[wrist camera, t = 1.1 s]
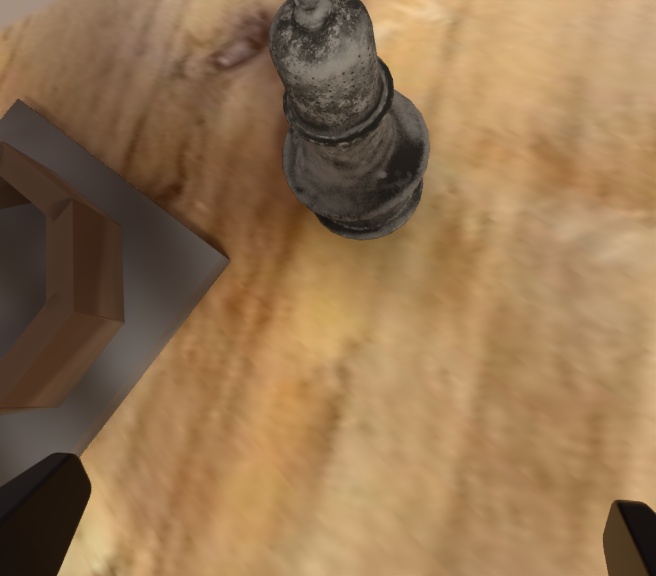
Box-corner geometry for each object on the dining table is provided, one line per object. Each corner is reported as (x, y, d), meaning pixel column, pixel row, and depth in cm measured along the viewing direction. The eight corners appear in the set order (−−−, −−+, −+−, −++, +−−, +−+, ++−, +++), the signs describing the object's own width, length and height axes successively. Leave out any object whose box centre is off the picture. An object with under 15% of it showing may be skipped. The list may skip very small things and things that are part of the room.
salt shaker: (293, 144, 25) (175, -75, 13) (413, 112, 24) (401, -152, 12) (313, 259, 23) (203, 126, 12) (443, 229, 23) (458, 55, 11)
